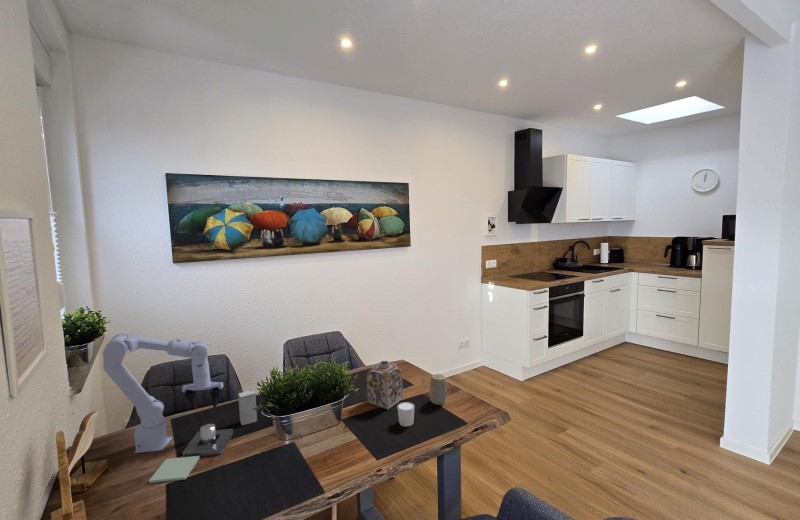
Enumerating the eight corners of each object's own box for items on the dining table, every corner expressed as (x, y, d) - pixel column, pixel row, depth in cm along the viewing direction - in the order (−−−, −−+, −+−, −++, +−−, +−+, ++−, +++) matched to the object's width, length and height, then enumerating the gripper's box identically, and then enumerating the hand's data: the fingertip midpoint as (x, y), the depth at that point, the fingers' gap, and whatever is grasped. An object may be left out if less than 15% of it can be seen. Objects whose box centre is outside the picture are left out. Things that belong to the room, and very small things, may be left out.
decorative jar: (383, 392, 177) (382, 355, 175) (403, 399, 170) (402, 360, 168) (366, 403, 167) (365, 364, 165) (387, 410, 160) (386, 370, 158)
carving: (443, 407, 161) (442, 380, 160) (427, 403, 165) (426, 377, 164) (449, 401, 167) (448, 375, 166) (433, 397, 171) (433, 371, 169)
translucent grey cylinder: (199, 449, 137) (197, 431, 136) (205, 441, 142) (203, 424, 141) (213, 448, 138) (212, 430, 137) (218, 440, 142) (217, 423, 142)
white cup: (395, 425, 149) (394, 408, 148) (401, 416, 155) (401, 400, 154) (411, 428, 146) (410, 411, 145) (417, 419, 152) (416, 403, 152)
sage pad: (149, 483, 120) (148, 480, 120) (166, 461, 131) (166, 459, 131) (185, 479, 121) (185, 477, 121) (199, 457, 132) (199, 455, 132)
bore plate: (182, 457, 133) (182, 452, 132) (198, 436, 145) (197, 431, 145) (221, 454, 134) (220, 448, 134) (233, 433, 147) (232, 428, 147)
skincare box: (242, 426, 152) (239, 397, 151) (239, 421, 156) (237, 393, 154) (257, 421, 155) (255, 393, 154) (255, 416, 159) (253, 389, 158)
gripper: (224, 368, 150) (228, 400, 152) (186, 371, 149) (190, 403, 150) (217, 375, 143) (221, 409, 145) (177, 378, 142) (182, 413, 143)
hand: (205, 407), depth 147 cm, fingers open, 7 cm apart
